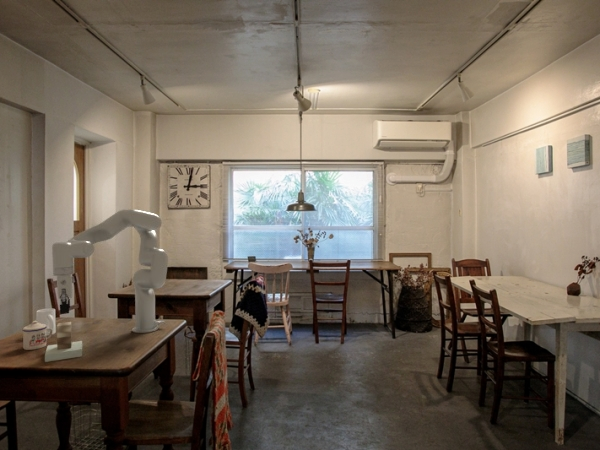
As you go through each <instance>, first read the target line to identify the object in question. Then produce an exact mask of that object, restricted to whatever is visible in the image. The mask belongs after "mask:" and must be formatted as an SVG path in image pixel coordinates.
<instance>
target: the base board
mask: <svg viewBox="0 0 600 450" xmlns="http://www.w3.org/2000/svg"><path fill="white" fill-rule="evenodd" d="M46 346H47V347H46V350H45V353H44V363H48V362H53V361H54V362H55V361H60V360H66V359H73V358H79V357H83V340H78V341H72V346H71V348H68V349H61V350H57V343H56V344H48V345H46Z"/></svg>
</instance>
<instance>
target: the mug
mask: <svg viewBox="0 0 600 450" xmlns="http://www.w3.org/2000/svg"><path fill="white" fill-rule="evenodd" d="M35 313H36V314H35V315H36V318H35V321H37V323H40V324H45V325H46V326H47V328H51V329H52V330H53V333H52V335H55V334H56V333H57V325H56V309H55V308H50V307H49V308H42V309H38V310H36V312H35ZM49 334H50V330H49V329H48V330H46V337H48V336H49Z"/></svg>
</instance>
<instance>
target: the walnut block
mask: <svg viewBox="0 0 600 450" xmlns="http://www.w3.org/2000/svg"><path fill="white" fill-rule="evenodd" d="M72 337H73V336H72V335H71V336H69V337H61V338H57V337H56V340H57V342H56V344H57V350H61V349H68V348H71V346H72V342H73V341H72Z"/></svg>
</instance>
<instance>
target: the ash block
mask: <svg viewBox="0 0 600 450" xmlns="http://www.w3.org/2000/svg"><path fill="white" fill-rule="evenodd" d="M56 324H57V325H56V339H57V338H61V337H69V336H71V337H72V321H68V322H59V323H56Z"/></svg>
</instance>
